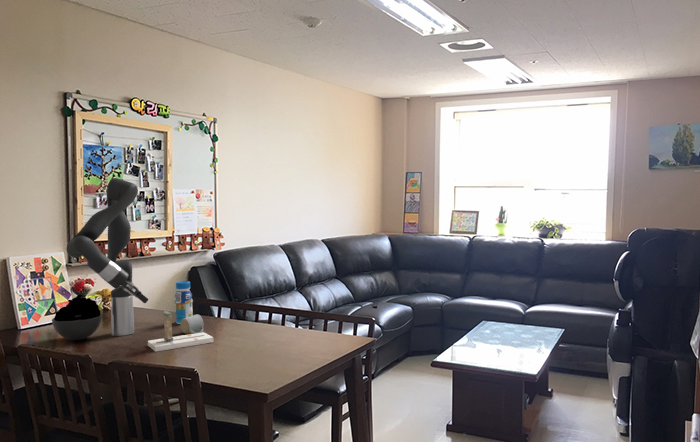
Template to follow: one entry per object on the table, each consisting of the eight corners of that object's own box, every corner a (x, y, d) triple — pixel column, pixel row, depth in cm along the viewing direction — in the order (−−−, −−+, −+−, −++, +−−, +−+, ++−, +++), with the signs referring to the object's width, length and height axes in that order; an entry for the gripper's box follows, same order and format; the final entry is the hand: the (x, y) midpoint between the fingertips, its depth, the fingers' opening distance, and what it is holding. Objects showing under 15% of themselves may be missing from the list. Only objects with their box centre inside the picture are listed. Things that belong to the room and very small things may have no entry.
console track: (155, 351, 232) (155, 346, 232) (147, 345, 243) (147, 340, 242) (213, 342, 245) (213, 337, 245) (204, 336, 255) (204, 331, 255)
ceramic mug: (179, 333, 264) (178, 316, 263) (195, 329, 270) (194, 313, 269) (192, 336, 257) (191, 319, 256) (208, 333, 263) (207, 316, 262)
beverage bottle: (174, 321, 288) (172, 281, 287) (191, 319, 291) (190, 280, 290) (177, 325, 280) (175, 283, 279) (194, 323, 284) (193, 282, 283)
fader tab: (167, 342, 238) (166, 314, 237) (163, 339, 243) (162, 311, 243) (174, 341, 239) (173, 313, 239) (169, 338, 245) (168, 310, 244)
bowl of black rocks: (83, 345, 245) (81, 301, 244) (42, 344, 249) (40, 300, 248) (112, 334, 264) (110, 293, 264) (73, 333, 268) (71, 292, 268)
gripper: (123, 268, 225) (157, 296, 232) (116, 265, 236) (149, 292, 243) (109, 283, 222) (144, 311, 229) (103, 279, 233) (136, 306, 240)
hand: (146, 301), depth 236 cm, fingers closed
